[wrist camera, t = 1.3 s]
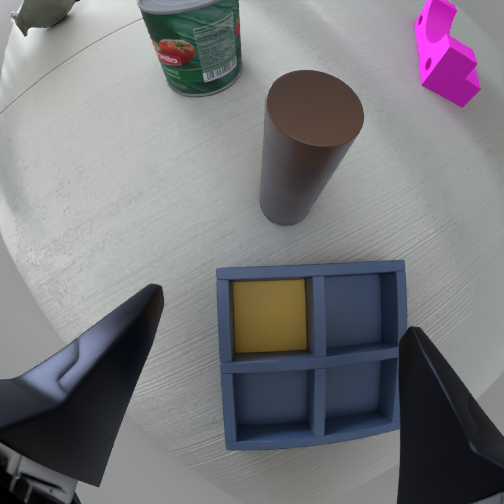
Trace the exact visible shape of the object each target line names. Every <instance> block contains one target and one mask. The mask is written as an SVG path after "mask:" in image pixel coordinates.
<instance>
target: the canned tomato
mask: <svg viewBox="0 0 504 504" xmlns="http://www.w3.org/2000/svg"><path fill="white" fill-rule="evenodd" d="M238 1H239V0H137V5H138V7H139V8H140V10H141V13H142V16H143V19H144V21H145V24H146V27H147V29H148V33H149V34H150V38H151V40H152V42H153V45H154V47H155V51H156V53H157V56H158V58H159V61H160V63H161V66H162V68H163V72H164V73H165V76H166V79H167V83H168V84H169V86H170V87H171V88H172V89H173V90H174V91H175V92H177V93H179V94H182V95H185V96H191V97H200V96H208V95H211V94H215V93H218V92H220V91H223V90H224V89H226V88H228V87H229V86H231V85H232V84H233V83H234V82H235V81H236V80H237V79H238V78H239V76H240V74H241V71H242V61H241V40H240V39H241V38H240V22H239V21H240V18H239V2H238Z"/></svg>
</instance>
